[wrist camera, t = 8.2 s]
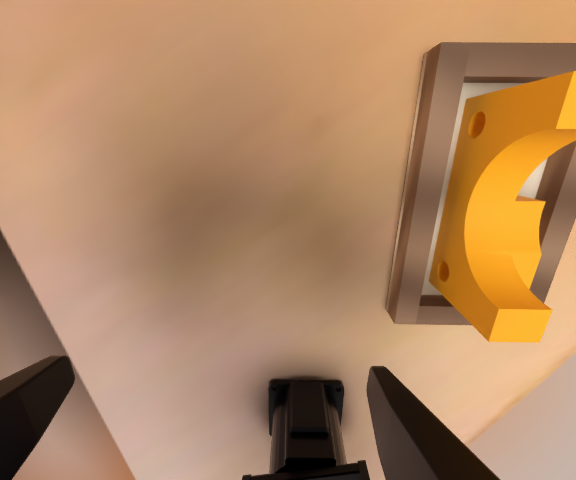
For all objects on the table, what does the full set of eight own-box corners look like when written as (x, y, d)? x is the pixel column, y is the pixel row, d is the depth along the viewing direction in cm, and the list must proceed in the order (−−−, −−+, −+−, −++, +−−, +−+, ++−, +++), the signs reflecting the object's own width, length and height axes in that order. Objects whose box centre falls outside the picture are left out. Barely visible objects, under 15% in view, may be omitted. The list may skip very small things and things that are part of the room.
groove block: (514, 310, 21) (535, 326, 19) (385, 308, 21) (394, 323, 19) (600, 55, 15) (641, 43, 14) (424, 54, 16) (441, 42, 14)
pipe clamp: (487, 281, 20) (574, 343, 14) (428, 281, 20) (488, 341, 14) (540, 99, 16) (695, 72, 10) (465, 99, 16) (573, 71, 10)
